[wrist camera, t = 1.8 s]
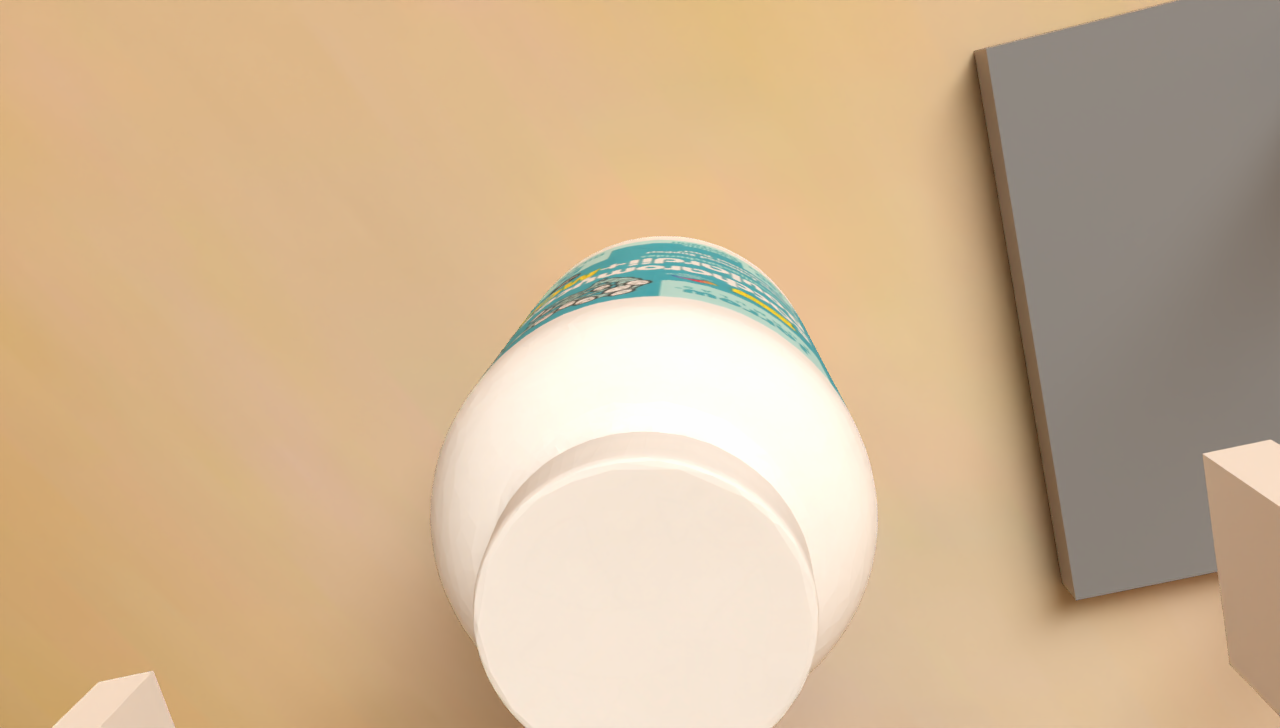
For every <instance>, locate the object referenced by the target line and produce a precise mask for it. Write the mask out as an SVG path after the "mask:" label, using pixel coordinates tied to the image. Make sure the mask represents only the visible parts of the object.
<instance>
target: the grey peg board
mask: <svg viewBox="0 0 1280 728" xmlns="http://www.w3.org/2000/svg"><path fill="white" fill-rule="evenodd" d="M974 54H975V60H976V66H977V72H978V78H979V84H980V90H981V96H982V102H983V108H984V114H985V120H986V126H987V132H988V138H989V145H990V151H991V157H992V163H993V169H994V175H995V181H996V187H997V193H998V199H999V205H1000V211H1001V217H1002V223H1003V229H1004V235H1005V241H1006V247H1007V253H1008V259H1009V265H1010V271H1011V277H1012V283H1013V289H1014V295H1015V301H1016V308H1017V314H1018V320H1019V326H1020V332H1021V338H1022V344H1023V350H1024V356H1025V362H1026V368H1027V374H1028V380H1029V386H1030V392H1031V398H1032V404H1033V410H1034V416H1035V422H1036V428H1037V434H1038V440H1039V446H1040V452H1041V458H1042V464H1043V471H1044V477H1045V483H1046V489H1047V495H1048V501H1049V507H1050V513H1051V519H1052V525H1053V531H1054V537H1055V543H1056V549H1057V555H1058V561H1059V567H1060V573H1061V579H1062V584H1063V585H1064V586H1065V587H1066V589H1067V590H1068V591H1069V592H1070V594H1071V595H1072V596H1073V597H1074V599H1075V600H1080V599H1085V598H1090V597H1095V596H1100V595H1105V594H1110V593H1115V592H1120V591H1125V590H1130V589H1135V588H1140V587H1145V586H1149V585H1154V584H1159V583H1164V582H1169V581H1174V580H1179V579H1184V578H1189V577H1194V576H1199V575H1204V574H1209V573H1214V572H1218V571H1217V563H1216V555H1215V547H1214V540H1213V532H1212V524H1211V516H1210V509H1209V501H1208V493H1207V486H1206V478H1205V470H1204V462H1203V455H1202V454H1203V453H1208V452H1213V451H1217V450H1222V449H1227V448H1232V447H1237V446H1242V445H1246V444H1251V443H1256V442H1261V441H1266V440H1272V441H1274V442H1276V443H1278V444H1279V445H1280V0H1175V1H1171V2H1167V3H1163V4H1159V5H1155V6H1151V7H1147V8H1143V9H1139V10H1135V11H1131V12H1127V13H1123V14H1119V15H1115V16H1111V17H1107V18H1103V19H1099V20H1095V21H1091V22H1087V23H1083V24H1079V25H1075V26H1071V27H1067V28H1063V29H1060V30H1056V31H1052V32H1048V33H1044V34H1040V35H1036V36H1032V37H1028V38H1024V39H1020V40H1016V41H1012V42H1008V43H1004V44H1000V45H996V46H992V47H988V48H984V49H980V50H976V51H974Z"/></svg>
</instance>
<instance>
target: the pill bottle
mask: <svg viewBox="0 0 1280 728" xmlns="http://www.w3.org/2000/svg"><path fill="white" fill-rule="evenodd" d="M430 524H431V537H432V545H433V551H434V557H435V562H436V566H437V570H438V573H439V577H440V580H441V583H442V586H443V588H444V591H445V593H446V596H447V598H448V600H449V603H450V605H451V607H452V609H453V611H454V613H455V615H456V616H457V618H458V620H459V622H460V623H461V626H462V627H463V629H464V630H465V632H466V633H467V634H468V636H469V637H470V639H471V640H472V641H473V643H474V644H475V646H476V647H477V648H478V652H479V657H480V660H481V662H482V664H483V667H484V669H485V672H486V674H487V677H488V679H489V681H490V682H491V684H492V686H493V688H494V690H495V692H496V693H497V695H498V696H499V698H500V700H501V701H502V703H503V704H504V705H505V706H506V707H507V709H508V710H509V711H510V712H511V713H512V715H513V716H514V717H515V718H516V719H517V721H519V722H520V723H521V724H522V725H523V726H524V727H525V728H773V727H774V726H775V725H776V724H777V723H778V722H779V721H780V720H781V718H782V717H783V716H784V714H785V713H786V712H787V711H788V709H789V708H790V707H791V705H792V704H793V703H794V701H795V700H796V698H797V697H798V695H799V693H800V691H801V689H802V687H803V685H804V683H805V681H806V678H807V676H808V674H810V673H811V672H812V671H813V670H814V669H815V668H816V667H817V666H818V665H819V664H820V663H821V662H822V661H823V660H824V659H825V657H826V656H827V655H828V654H829V652H830V651H831V650H832V649H833V647H834V646H835V645H836V644H837V642H838V641H839V639H840V638H841V636H842V635H843V633H844V632H845V630H846V629H847V627H848V625H849V623H850V621H851V620H852V618H853V616H854V614H855V613H856V611H857V609H858V607H859V604H860V601H861V599H862V596H863V594H864V591H865V589H866V586H867V583H868V580H869V577H870V573H871V570H872V566H873V560H874V555H875V549H876V540H877V528H878V511H877V498H876V490H875V484H874V479H873V474H872V468H871V465H870V462H869V458H868V455H867V451H866V448H865V446H864V443H863V441H862V439H861V436H860V434H859V432H858V429H857V427H856V425H855V423H854V420H853V418H852V416H851V415H850V413H849V411H848V409H847V407H846V405H845V403H844V401H843V399H842V397H841V395H840V394H839V392H838V390H837V388H836V386H835V384H834V383H833V381H832V379H831V377H830V375H829V373H828V371H827V369H826V367H825V366H824V364H823V362H822V360H821V358H820V356H819V354H818V352H817V350H816V348H815V346H814V345H813V343H812V341H811V339H810V337H809V335H808V333H807V331H806V329H805V327H804V325H803V323H802V321H801V320H800V318H799V316H798V314H797V313H796V311H795V309H794V308H793V306H792V304H791V303H790V301H789V300H788V299H787V297H786V296H785V295H784V293H783V292H782V291H781V290H780V289H779V287H778V286H777V285H776V284H775V283H774V282H773V281H772V280H771V279H770V278H769V277H768V276H767V275H766V274H765V273H764V272H762V271H761V270H760V269H759V268H757V267H756V266H755V265H753V264H752V263H751V262H749V261H747V260H746V259H744V258H743V257H741V256H740V255H738V254H736V253H734V252H732V251H730V250H728V249H726V248H724V247H721V246H718V245H715V244H712V243H709V242H706V241H702V240H698V239H693V238H687V237H677V236H656V237H645V238H639V239H632V240H627V241H624V242H621V243H618V244H615V245H612V246H609V247H606V248H604V249H602V250H600V251H598V252H596V253H594V254H592V255H590V256H588V257H587V258H585V259H583V260H582V261H580V262H579V263H577V264H576V265H575V266H573V267H572V268H571V269H570V270H569V271H567V272H566V273H565V274H564V275H563V276H562V277H561V278H560V279H558V280H557V282H556V283H555V284H554V285H553V286H552V287H551V288H550V289H549V290H548V291H547V293H546V294H545V295H544V296H543V298H542V299H541V300H540V301H539V303H538V304H537V305H536V307H535V308H534V309H533V310H532V311H531V313H530V314H529V316H528V317H527V318H526V320H525V321H524V322H523V323H522V325H521V326H520V327H519V329H518V330H517V332H516V333H515V334H514V335H513V337H512V338H511V339H510V341H509V342H508V343H507V345H506V346H505V348H504V349H503V350H502V351H501V352H500V354H499V355H498V357H497V358H496V360H495V361H494V362H493V363H492V365H491V366H490V367H489V369H488V370H487V371H486V372H485V374H484V375H483V376H482V378H481V379H480V380H479V382H478V383H477V384H476V386H475V387H474V388H473V390H472V391H471V392H470V394H469V395H468V397H467V398H466V400H465V401H464V403H463V404H462V406H461V408H460V409H459V411H458V413H457V415H456V416H455V418H454V420H453V422H452V424H451V426H450V428H449V430H448V432H447V434H446V437H445V440H444V442H443V445H442V448H441V451H440V454H439V458H438V462H437V466H436V469H435V475H434V481H433V487H432V495H431V514H430Z"/></svg>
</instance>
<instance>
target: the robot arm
mask: <svg viewBox="0 0 1280 728" xmlns="http://www.w3.org/2000/svg"><path fill="white" fill-rule="evenodd" d="M1202 455H1203V462H1204V470H1205V478H1206V486H1207V493H1208V501H1209V509H1210V516H1211V524H1212V532H1213V540H1214V547H1215V555H1216V563H1217V571H1218V578H1219V586H1220V594H1221V601H1222V609H1223V617H1224V625H1225V632H1226V640H1227V648H1228V655H1229V663H1230V665H1231V666H1232V667H1233V668H1234V669H1235V670H1236V671H1237V672H1238V673H1239V675H1240V676H1241V677H1242V678H1243V679H1244V680H1245V681H1246V682H1247V683H1248V684H1249V685H1250V686H1251V687H1252V688H1253V689H1254V690H1255V691H1256V692H1257V693H1258V694H1259V695H1260V696H1261V697H1262V698H1263V700H1264V701H1265V702H1266V703H1267V704H1268V705H1269V706H1270V707H1271V708H1272V709H1273V710H1274V711H1275V712H1276V713H1277V714H1278V715H1279V716H1280V445H1279V444H1278V443H1276V442H1274V441H1272V440H1266V441H1261V442H1256V443H1251V444H1246V445H1242V446H1237V447H1232V448H1227V449H1222V450H1217V451H1213V452H1208V453H1203V454H1202ZM52 728H175V726H174V723H173V720H172V718H171V715H170V713H169V710H168V708H167V705H166V702H165V700H164V697H163V695H162V692H161V689H160V687H159V684H158V682H157V679H156V677H155V674H154V671H150V672H145V673H140V674H135V675H130V676H125V677H121V678H116V679H111V680H106V681H101V682H98V683H97V684H96V685H95V686H94V687H93V688H92V689H91V690H90V691H89V692H88V693H87V694H86V695H85V696H84V697H83V698H82V699H81V700H80V701H79V702H78V703H76V704H75V705H74V706H73V707H72V708H71V709H70V710H69V711H68V712H67V713H66V714H65V715H64V716H63V717H62V718H61V719H60V720H59V721H58V722H57V723H56V724H55V725H54V726H53V727H52Z"/></svg>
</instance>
